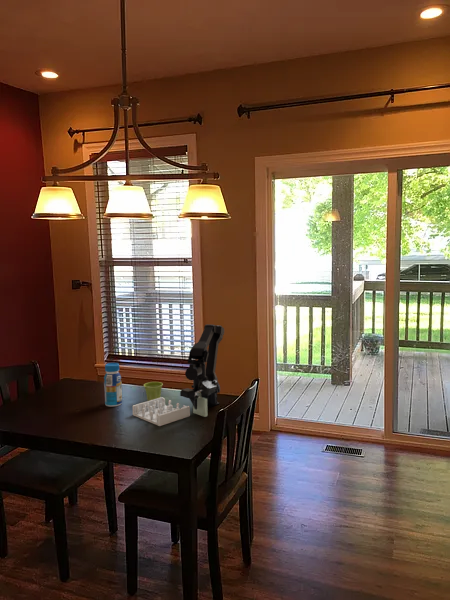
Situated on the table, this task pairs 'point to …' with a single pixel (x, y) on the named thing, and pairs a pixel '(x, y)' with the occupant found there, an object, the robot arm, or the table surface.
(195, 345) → the robot arm
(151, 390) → the plant pot
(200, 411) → the green square slab
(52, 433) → the table surface
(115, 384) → the beverage bottle
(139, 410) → the dish rack
